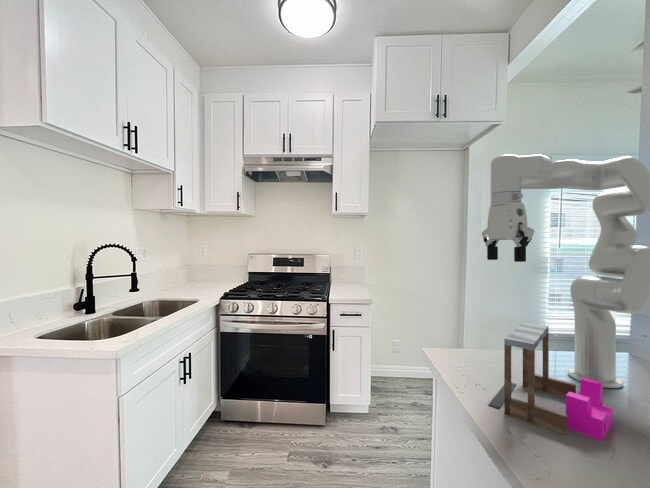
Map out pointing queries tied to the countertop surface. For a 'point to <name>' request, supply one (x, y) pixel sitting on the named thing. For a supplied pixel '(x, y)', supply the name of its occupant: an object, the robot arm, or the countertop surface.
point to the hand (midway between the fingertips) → (505, 260)
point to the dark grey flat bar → (500, 397)
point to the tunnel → (533, 379)
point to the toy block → (588, 410)
